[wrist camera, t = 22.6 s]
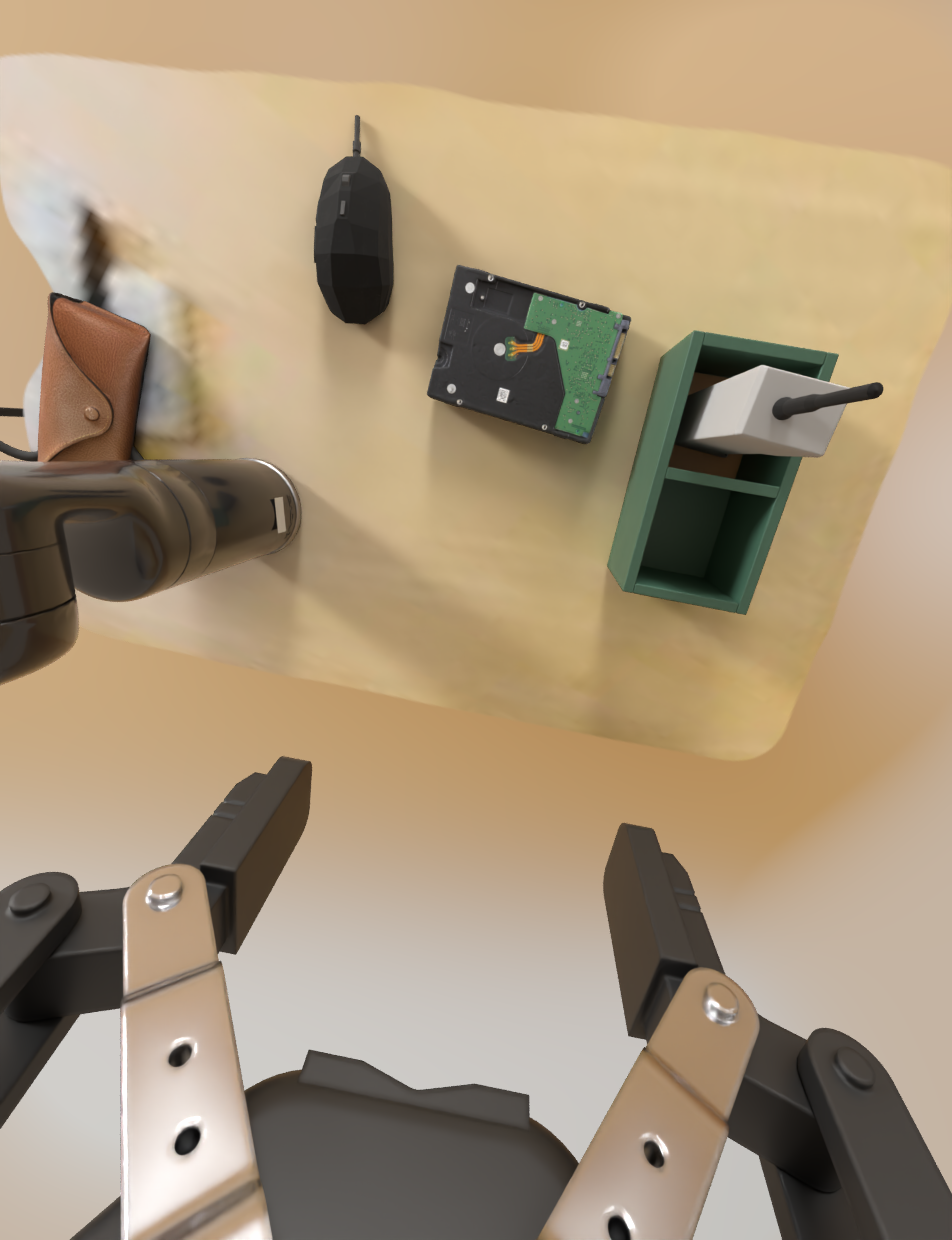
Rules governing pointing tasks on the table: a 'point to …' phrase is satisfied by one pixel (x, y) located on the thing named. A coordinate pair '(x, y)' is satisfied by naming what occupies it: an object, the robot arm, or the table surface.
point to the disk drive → (526, 354)
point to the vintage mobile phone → (767, 414)
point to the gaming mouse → (354, 239)
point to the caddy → (704, 484)
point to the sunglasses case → (89, 382)
